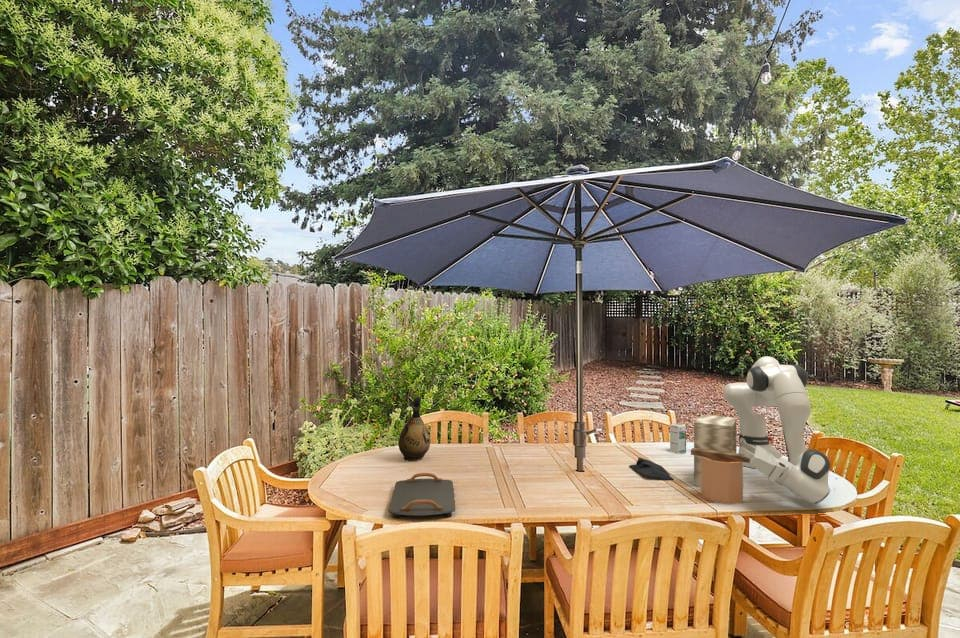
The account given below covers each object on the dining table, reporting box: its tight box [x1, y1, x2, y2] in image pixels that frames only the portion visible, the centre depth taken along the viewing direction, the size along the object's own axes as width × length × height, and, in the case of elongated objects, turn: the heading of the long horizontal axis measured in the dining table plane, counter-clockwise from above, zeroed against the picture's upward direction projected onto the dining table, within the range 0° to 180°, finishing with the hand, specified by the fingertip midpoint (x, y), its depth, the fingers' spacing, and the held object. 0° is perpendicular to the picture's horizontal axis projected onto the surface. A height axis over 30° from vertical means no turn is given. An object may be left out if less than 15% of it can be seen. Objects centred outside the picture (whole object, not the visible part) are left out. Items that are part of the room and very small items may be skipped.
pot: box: [700, 456, 744, 505], centre depth 190 cm, size 14×14×15 cm
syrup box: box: [669, 423, 687, 455], centre depth 258 cm, size 6×6×14 cm
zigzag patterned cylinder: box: [693, 414, 738, 487], centre depth 209 cm, size 14×22×26 cm, turn 148°
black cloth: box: [628, 457, 675, 481], centre depth 221 cm, size 15×22×5 cm
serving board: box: [388, 472, 456, 520], centre depth 183 cm, size 39×23×6 cm, turn 5°
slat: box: [690, 447, 750, 463], centre depth 190 cm, size 22×4×2 cm, turn 58°
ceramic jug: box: [398, 395, 431, 462], centre depth 242 cm, size 17×15×30 cm
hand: (741, 445), depth 187 cm, fingers open, 8 cm apart
